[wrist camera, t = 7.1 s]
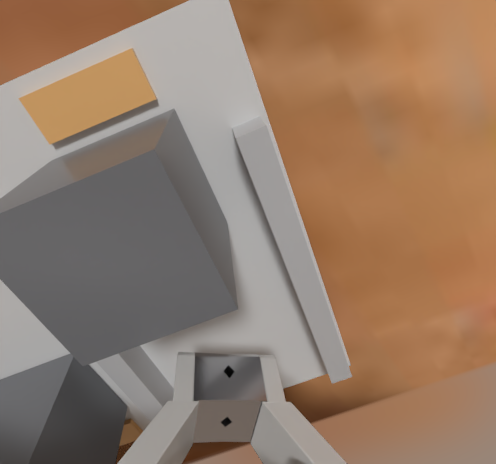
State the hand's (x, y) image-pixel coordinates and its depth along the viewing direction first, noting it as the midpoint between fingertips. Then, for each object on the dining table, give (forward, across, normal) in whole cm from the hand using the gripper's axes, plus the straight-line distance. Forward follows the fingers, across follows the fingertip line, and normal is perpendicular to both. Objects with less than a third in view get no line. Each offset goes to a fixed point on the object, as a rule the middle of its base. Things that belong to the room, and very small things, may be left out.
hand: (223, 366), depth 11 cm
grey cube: (+2, +3, -5) cm, 6 cm away
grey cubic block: (+2, +6, +4) cm, 7 cm away
